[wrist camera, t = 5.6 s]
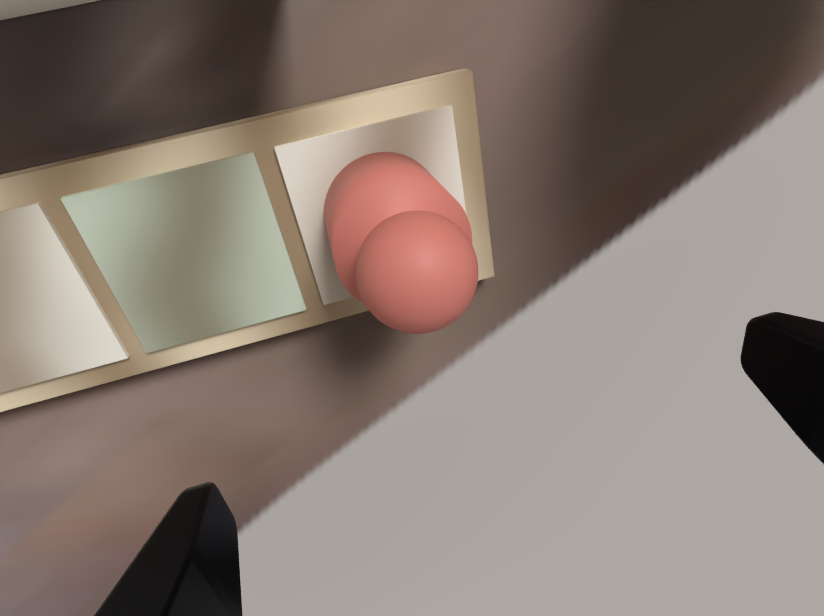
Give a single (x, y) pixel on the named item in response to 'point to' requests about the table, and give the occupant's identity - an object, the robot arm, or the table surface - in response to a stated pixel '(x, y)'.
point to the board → (206, 234)
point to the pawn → (401, 242)
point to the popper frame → (34, 6)
